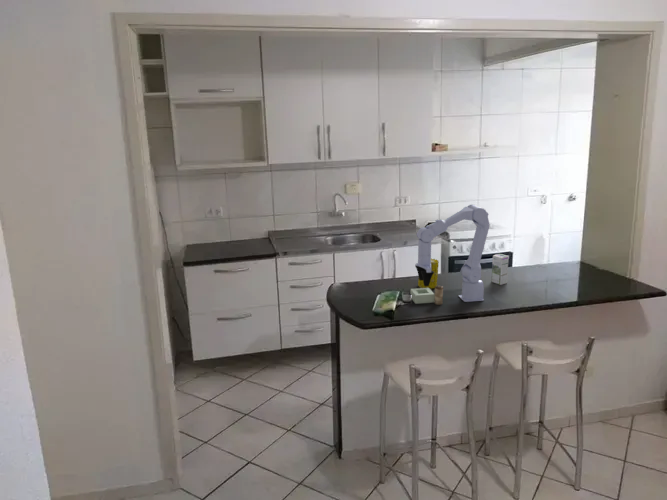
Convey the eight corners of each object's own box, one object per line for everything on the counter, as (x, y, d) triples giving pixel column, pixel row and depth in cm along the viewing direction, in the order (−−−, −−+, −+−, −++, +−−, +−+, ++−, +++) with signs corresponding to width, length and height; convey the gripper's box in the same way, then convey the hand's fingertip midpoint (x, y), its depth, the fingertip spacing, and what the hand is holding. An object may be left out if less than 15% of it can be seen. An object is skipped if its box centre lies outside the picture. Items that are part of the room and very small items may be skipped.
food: (414, 290, 265) (426, 286, 272) (434, 290, 257) (445, 286, 264) (410, 260, 264) (422, 257, 271) (430, 259, 256) (441, 256, 263)
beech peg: (441, 301, 246) (441, 285, 244) (443, 304, 242) (444, 288, 240) (433, 302, 245) (434, 285, 243) (435, 305, 242) (436, 288, 240)
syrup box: (507, 283, 269) (509, 255, 265) (499, 285, 265) (501, 257, 261) (498, 280, 273) (500, 253, 269) (490, 282, 270) (492, 255, 266)
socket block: (428, 295, 254) (428, 287, 252) (434, 302, 245) (434, 294, 244) (410, 296, 253) (410, 288, 251) (415, 303, 244) (415, 295, 243)
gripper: (411, 250, 245) (411, 278, 248) (420, 259, 231) (419, 288, 235) (426, 249, 245) (426, 277, 249) (436, 258, 232) (435, 287, 235)
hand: (424, 282), depth 242 cm, fingers open, 7 cm apart
